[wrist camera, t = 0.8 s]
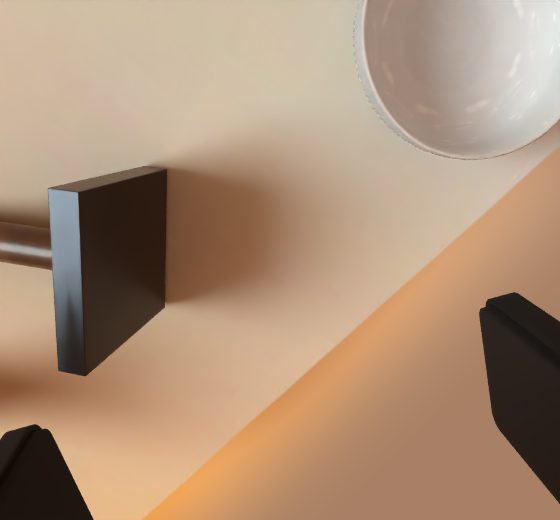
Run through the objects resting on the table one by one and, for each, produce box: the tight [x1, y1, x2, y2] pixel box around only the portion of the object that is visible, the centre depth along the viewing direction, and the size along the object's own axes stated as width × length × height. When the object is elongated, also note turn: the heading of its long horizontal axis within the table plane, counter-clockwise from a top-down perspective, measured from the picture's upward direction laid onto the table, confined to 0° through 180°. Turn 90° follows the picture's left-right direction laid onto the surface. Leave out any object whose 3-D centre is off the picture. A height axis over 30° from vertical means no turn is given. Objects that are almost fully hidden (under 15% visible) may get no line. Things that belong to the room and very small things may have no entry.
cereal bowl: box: [353, 0, 560, 160], centre depth 36 cm, size 17×17×7 cm
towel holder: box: [0, 166, 167, 376], centre depth 35 cm, size 18×12×12 cm
